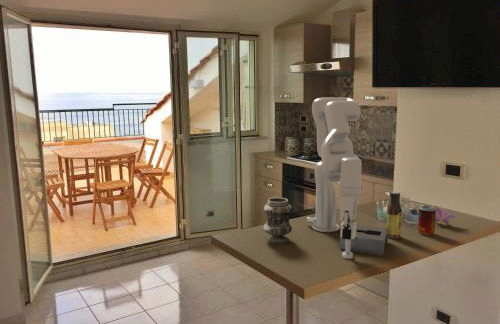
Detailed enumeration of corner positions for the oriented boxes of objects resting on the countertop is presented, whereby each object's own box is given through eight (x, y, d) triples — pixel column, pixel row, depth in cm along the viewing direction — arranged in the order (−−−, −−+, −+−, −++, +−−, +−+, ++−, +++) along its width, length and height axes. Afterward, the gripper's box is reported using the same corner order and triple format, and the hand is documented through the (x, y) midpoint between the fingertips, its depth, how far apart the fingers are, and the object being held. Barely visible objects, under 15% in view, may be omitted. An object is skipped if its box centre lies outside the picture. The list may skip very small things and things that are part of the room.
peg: (339, 258, 165) (340, 224, 162) (342, 253, 169) (343, 220, 167) (352, 260, 163) (354, 226, 160) (355, 255, 167) (356, 222, 165)
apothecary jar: (285, 234, 192) (285, 195, 189) (296, 243, 181) (297, 201, 178) (259, 237, 188) (259, 197, 185) (269, 246, 177) (269, 204, 174)
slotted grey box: (339, 249, 174) (340, 235, 173) (347, 236, 188) (347, 223, 187) (383, 255, 167) (384, 240, 166) (387, 242, 182) (388, 228, 181)
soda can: (421, 230, 197) (423, 204, 195) (437, 233, 192) (439, 207, 190) (414, 233, 193) (416, 207, 191) (429, 237, 188) (431, 210, 186)
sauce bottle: (401, 239, 185) (404, 194, 181) (386, 238, 186) (388, 194, 183) (399, 234, 191) (402, 191, 188) (384, 233, 192) (387, 190, 189)
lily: (461, 230, 200) (460, 210, 204) (449, 225, 193) (448, 204, 196) (436, 232, 209) (435, 212, 212) (423, 227, 202) (423, 207, 205)
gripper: (344, 184, 171) (343, 228, 174) (335, 194, 155) (333, 242, 158) (363, 186, 168) (361, 230, 171) (356, 196, 152) (354, 244, 155)
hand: (348, 235), depth 164 cm, fingers open, 6 cm apart
